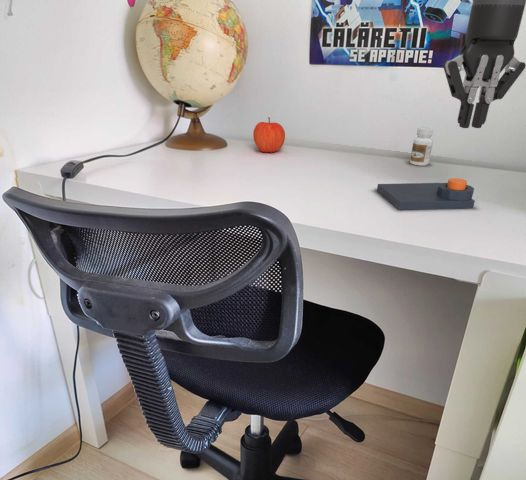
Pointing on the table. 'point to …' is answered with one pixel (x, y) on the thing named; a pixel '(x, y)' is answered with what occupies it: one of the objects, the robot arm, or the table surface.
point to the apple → (269, 136)
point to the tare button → (456, 184)
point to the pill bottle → (422, 147)
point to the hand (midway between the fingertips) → (470, 127)
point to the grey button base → (426, 196)
